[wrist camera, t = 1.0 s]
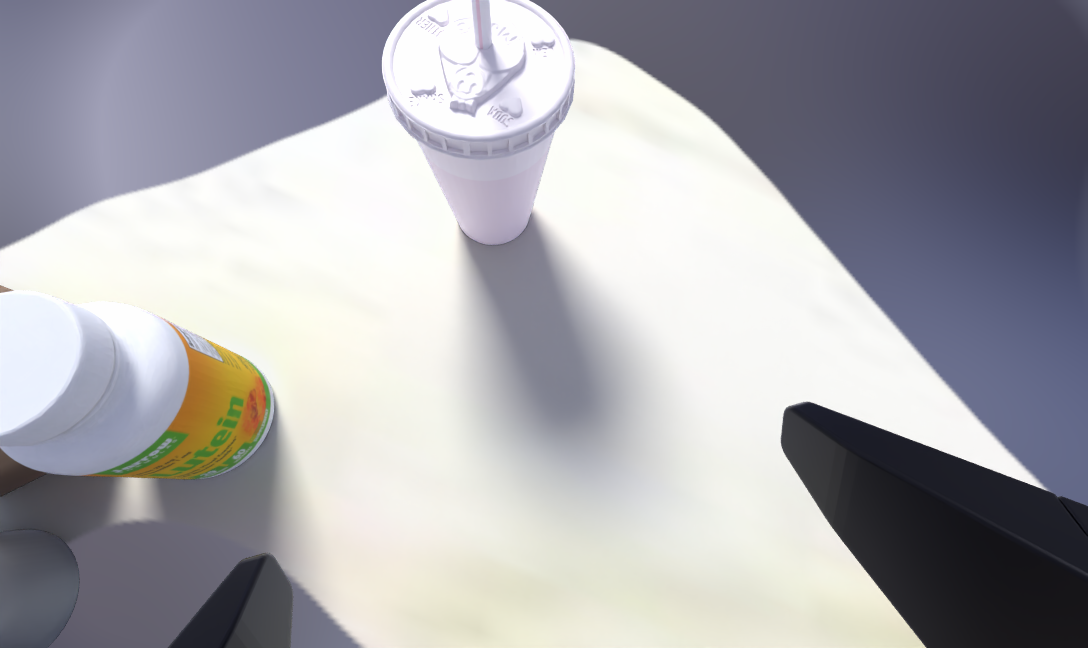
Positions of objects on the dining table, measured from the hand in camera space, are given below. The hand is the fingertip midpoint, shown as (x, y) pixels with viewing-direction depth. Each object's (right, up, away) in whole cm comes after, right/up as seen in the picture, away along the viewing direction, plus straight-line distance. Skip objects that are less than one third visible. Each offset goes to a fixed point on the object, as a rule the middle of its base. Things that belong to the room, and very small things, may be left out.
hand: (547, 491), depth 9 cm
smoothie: (-3, +9, +17) cm, 19 cm away
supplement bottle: (-14, -1, +14) cm, 20 cm away
